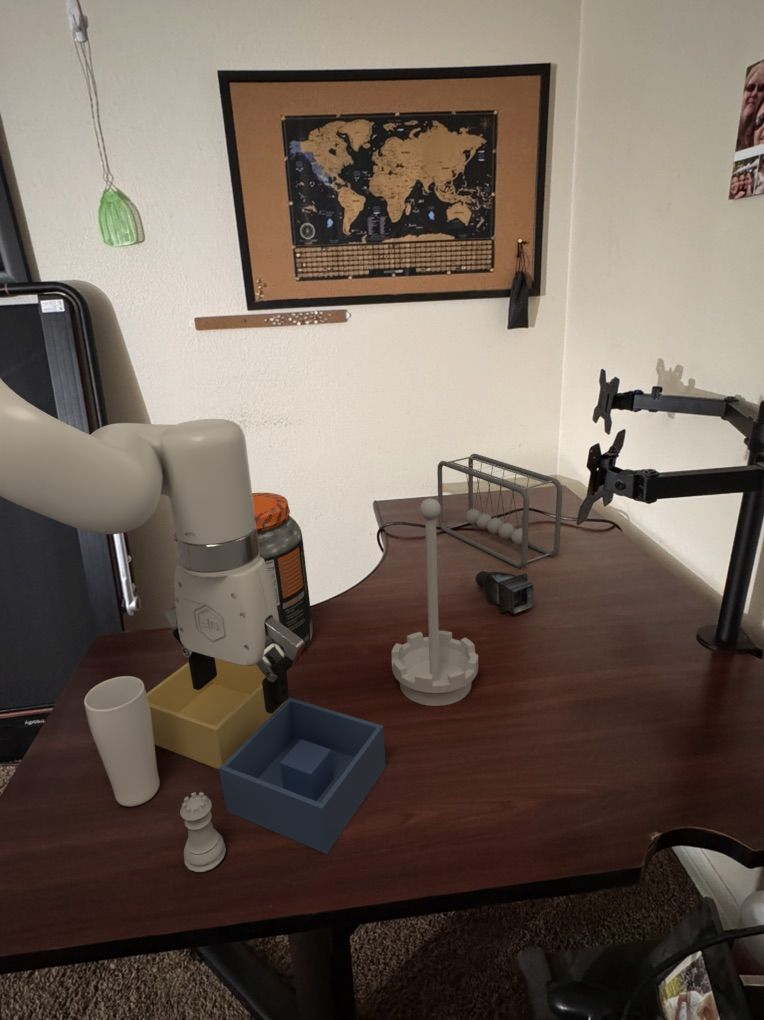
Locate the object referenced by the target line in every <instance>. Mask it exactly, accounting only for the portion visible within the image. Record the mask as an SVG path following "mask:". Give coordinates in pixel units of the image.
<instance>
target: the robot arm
mask: <svg viewBox="0 0 764 1020" xmlns="http://www.w3.org/2000/svg"><path fill="white" fill-rule="evenodd" d="M247 447H248V446H247V442H246V436H245V433H244V430H243V428H242V427H241V426H240V425H239V424H238V423H237V422H235V421H233V420H229V419H224V418H203V419H193V420H188V421H183V422H180V423H177V424H162V423H161V424H160V423H159V424H156V423H155V424H154V423H140V422H139V423H138V422H137V423H136V422H118V423H112V424H106V425H104V426H100V427H99V428H98V429H97V428H96V429H95V430H94V431H93V432H92V433H91V434H89V433H87V432H84V431H82V430H81V429H78V428H77V427H74V426H72V425H70V424H68V423H66V422H64V421H62V420H60V419H58V418H56V417H54V416H52V415H50V414H48V413H46V412H45V411H43V410H41V409H39V408H38V407H36V406H35V405H33V404H32V403H30V402H29V401H27V400H26V399H24V398H23V397H21V396H20V395H19V394H17V393H16V392H15V391H14V390H13V389H12V388H10V387H9V386H8V384H6V382H4V381H3V380H2V378H1V377H0V497H1V498H3V499H5V500H7V501H9V502H12V503H13V504H15V505H17V506H20V507H23V508H25V509H28V510H30V511H32V512H35V513H37V514H40V515H42V516H43V517H47V518H50V519H52V520H54V521H57V522H59V523H62V524H65V525H67V526H69V527H72V528H75V529H78V530H82V531H86V532H89V533H93V534H99V535H120V534H125V533H128V532H131V531H134V530H135V529H137V528H139V527H141V526H142V525H144V524H145V523H146V522H147V521H148V520H149V519H150V518H151V517H152V516H153V515H154V513H155V512H156V509H157V507H158V504H159V502H160V499H161V496H162V495H164V496H166V497H167V498H169V501H170V506H171V512H172V518H173V524H174V530H175V532H174V534H173V536H174V537H173V538H174V541H175V542H176V543H177V549H178V554H179V558H178V559H176V562H175V568H174V581H173V582H174V605H175V606H173V607H172V608H170V609H168V610H167V611H165V612H164V617H165V619H166V621H167V623H168V625H169V626H170V628H171V630H172V635H173V637H174V638H175V640H176V641H177V642H178V643H179V644H180V646H182V648H181V653H182V655H183V656H184V657H186V658H188V660H187V662H189V667H190V673H191V678H192V684H193V688H194V689H196V690H200V689H202V688H203V687H204V686H205V685H207V684H208V683H209V682H210V681H211V680H213V679H214V678H215V677H216V676H217V670H216V664H215V658H217V659H221V660H224V661H228V662H231V663H235V664H238V665H243V666H253V665H255V664H256V665H257V666H258V667H259V669H260V670H261V671H262V673H263V674H264V675H265V677H266V678H265V679H263V681H262V687H263V695H264V702H265V710H266V712H267V713H270V714H273V713H274V712H275V711H276V710H277V709H278V708H279V707H280V706H281V705H282V704H283V703H284V702H285V701H287V700H288V699H289V693H290V692H289V684H288V674H287V672H288V671H289V670H290V669H291V668H292V667H293V666H294V665H295V664H296V663H297V662H298V661H300V656H301V655H302V652H303V651H304V650H303V648H304V646H305V643H304V641H303V640H302V639H301V638H300V637H298V636H297V635H296V634H294V633H293V632H292V631H290V630H289V629H287V628H286V627H285V626H283V625H282V624H281V623H279V617H278V610H277V605H276V600H275V595H274V591H273V587H272V583H271V579H270V576H269V573H268V569H267V567H266V564H265V561H264V559H263V558H261V557H260V554H259V546H258V538H257V530H256V521H255V513H254V505H253V497H252V493H253V490H252V482H251V474H250V465H249V455H248V449H247ZM279 645H281V646H282V647H283V648H284V651H285V652H283V651H282V649H281V648H280V647H279ZM265 646H266V647H265ZM267 653H270V654H271V656H272V657H273V658H274V660H275V661H276V663H274V665H272V664H271V663H270V662H269V661H268V659H267V658H266V657H265V655H266V654H267Z"/></svg>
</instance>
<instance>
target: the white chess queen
mask: <svg viewBox="0 0 764 1020" xmlns="http://www.w3.org/2000/svg"><path fill="white" fill-rule="evenodd" d="M190 796H191V797H189V796H185V797H184V799H183V802H182V803H181V805H182V806H181V808H180V809H179V814H180V817H181V818H182V819H183V820H184V826H185V827H186V829H187V840H186V842H185V845H184V848H183V859H184V865H185V867H186V868H187V869H188V870H190V871H193V872H195V873H206V872H210V871H212V870H213V869H215V868H216V867H217V866H218V865H219V864H220V863H221V861H222V860H223V859H224V858H225V855H226V851H227V849H226V844H225V842H224V841H225V840H224V837H223V836H222V835H221V833H220V832H219V831H217V830H216V829H215V828H214V826H213V824H212V821H211V820H212V817H213V816H212V812H211V809H212V806H213V805H212V800H210V798H209V797H208V796H207V795H205V793H204V792H202V791H199V793H198V794H197V792H195V791H194V792H192V793H190Z"/></svg>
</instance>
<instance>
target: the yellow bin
mask: <svg viewBox="0 0 764 1020" xmlns="http://www.w3.org/2000/svg"><path fill="white" fill-rule="evenodd" d="M215 664H216V670H217V676H216V677H215V678H214V679H213V680H211V681H210V682H209V683H208V684H207V685H205V686H204V687H203V688H202V689H200V690H196V689H194V688H193V684H192V678H191V673H190V667H189V661H187V662H186V663H185V664H184V665H182V666H181V667H180V668H179V669H177V670H176V671H175V672H173V673H171V674H170V675H169V676H168V677H166V678H165V679H164V680H162V681H161V682H160V683H158V684H157V685H155V686H154V687H153V688H152V689H150V690H149V691H148V692H146V693H147V697H148V701H149V706H150V711H151V718H152V727H153V736H154V745H155V746H157V747H160V748H163V749H165V750H167V751H170V752H173V753H175V754H177V755H181V756H183V757H185V758H188V759H191V760H194V761H196V762H199V763H201V764H204V765H207V766H208V767H211V768H213V769H217V770H219V768H220V767H221V766H222V765H223V764H224V763H225V762H226V761H227V760H228V759H229V758H230V757H231V756H232V755H233V754H234V753H235V752H236V751H237V750H238V749H239V748H240V747H241V746H242V745H243V744H244V743H245V742H246V741H247V740H248V739H249V738H250V737H251V736H252V735H253V734H254V733H255V732H256V731H257V730H258V729H259V728H260V727H261V726H262V725H263V724H264V723H265V722H266V721H267V720H268V719H269V718H270V717H271V716H272V715H273V714H274V713H275V712H276V711H277V710H278V709H279V708H280V707H281V706H282V705H283V704H284V703H285V702H286V701H287V700H286V701H285V702H284V703H283V704H282V705H281V706H280V707H279V708H278V709H277V710H276V711H275V712H274V713H273V714H270V713H267V712H266V710H265V702H264V695H263V687H262V681H263V679H265V678H266V677H265V675H264V674H263V673H262V671H261V670H260V669H259V667H258V666H257V665H256V664H255V665H253V666H243V665H238V664H235V663H231V662H228V661H224V660H221V659H217V658H215Z"/></svg>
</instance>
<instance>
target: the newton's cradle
mask: <svg viewBox="0 0 764 1020" xmlns="http://www.w3.org/2000/svg"><path fill="white" fill-rule="evenodd" d="M464 460H468V462H467V463H468V465H463V464H461V463H458V462H459V461H464ZM474 461H476V462H477V463H474ZM479 464H480V468H478V469H474V465H479ZM483 464H484V465H488V466H489V468H491V472H489V473H488V472H487V473H486V472H484V471H482V469H486V468H488V466H485V467H482V465H483ZM443 467H446V468H449V469H452V470H453V471H457V472H460V473H463V474H465V476H466V482H467V488H468V489H467V491H468V492H467V493H468V494H467V495H468V496H467V497H468V501H467V502H468V504H467V505H468V507H467V508H468V509H467V512H466V513H465V520H466V522H463V523H459V524H456V525H452V526H449V527H447V526H446V525H445V524H444V507H443V506H444V499H443V498H444V497H443V495H444V494H443ZM494 467H495V468H496V469H497V468H498V469H501V470H497V471H493V469H494ZM436 471H437V501H438V502H439V504H440V506H441V512H440V514H439V516H438V517H437V521H438V525H439V527H440V529H441V530H442V531H443V532H445V533H447V534H449V535H450V536H453V537H455V538H457V539H459V540H460V541H463V542H464V543H467V544H469V545H471V546H472V547H475V548H476V549H479V550H481V551H482V552H485V553H487V554H488V555H491V556H493V557H495V558H497V559H499V560H501V561H503V562H505V563H507V564H509V565H511V566H512V567H515V568H518V569H524V568H525V567H526V566H527V564H528V563H531V562H534V561H537V560H539V559H542V558H545V557H547V556H548V557H552V558H554V557H556V556H558V555H559V552H560V548H561V547H560V546H561V545H560V544H561V528H562V510H563V509H562V508H563V486H562V483H561V481H560V480H559V479H557V478H555V477H553V476H549V475H545V474H542V473H539V472H536V471H533V470H530V469H526V468H524V467H523V468H522V467H520V466H517V465H513V464H510V463H507V462H504V461H501V460H497V459H494V458H492V457H491V458H490V457H487V456H485V455H482V454H478V453H472V454H470V455H469V456H466V457H461V458H457V459H454V460H449V461H446V460H441V461H439V463H438V464H437V469H436ZM501 471H503V473H502V477H498V476H496V475H493V473H497V472H501ZM505 471H507V472H509V473H511V474H508V475H505ZM512 475H514V480H513V481H510V480H507V479H504V478H506V477H508V476H509V477H510V476H512ZM517 475H519V476H522V477H524V478H522V479H517V480H516V478H517ZM525 477H526V478H525ZM474 478H476V481H477V489H476V497H475V502H474ZM526 479H527V485H526V486H524V485H521V484H519V483H516V482H519V481H522V480H526ZM530 479H531V480H534V481H538V482H541V483H536V484H534V485H533V484H532V485H530V486H529V481H530ZM481 480H483V481H485V482H487V484H488V491H487V496H486V497H487V498H486V504H485V505H486V506H485V511H484V509H483V504H482V498H481V491H480V490H481V489H480V481H481ZM550 483H551V484H553V485H554V486H555V488H556V499H555V501H556V502H555V519H554V520H555V522H554V541H553V551H552V550H549V549H547V548H545V547H543V546H541V545H538V544H536V543H533V542H531V541H529V537H530V536H529V519H530V517H529V515H530V497H529V494H528V490H529V489H533V488H537V487H540V486H543V485H547V484H550ZM491 484H494V485H496V486H499V496H498V503H497V510H496V516H495V513H494V507H493V501H492V500H493V499H492V494H491V493H492V492H491ZM502 488H504V489H507V490H510V491H511V492H512V493H511V499H510V506H509V511H508V517H507V521H506V516H505V508H504V500H503V493H502ZM514 492H516V493H519V494H520V495H521V496H522V501H523V502H522V517H521V525H520V527H519V519H518V514H517V513H518V512H517V507H516V502H515V494H514ZM478 494H479V501H480V507H481V511H480V510H478V509H476V505H477V499H478ZM489 496H490V497H489ZM489 498H490V504H491V511H492V517H491V515H490V514H488V513H487V507H488V501H489ZM500 501H501V503H502V505H501V506H502V511H503V518H504V522H503V521H502V519H500V518H498V513H499V506H500ZM512 502H513V504H514V510H515V511H514V512H515V517H516V523H517V528H515V526H514V525H513V524H511V522H509V521H510V514H511V508H512ZM481 512H482V513H481ZM467 524H470V525H472V526H473V525H476V526H477V527H478V528H479V529H481V530H487V531H488V533H490V534H491V535H498V536H499V537H500V538H501V539H503V540H506V541H507V540H511V541H512V543H513V544H514V545H515V546H521V561H520V562H519V561H517V560H514V559H513V558H511V557H508V556H507V555H504V554H502V553H501V552H498V551H496V550H494V549H492V548H491V547H488V546H486V545H484V544H482V543H479V542H478V541H476V540H474V539H471V538H469V537H467V536H465V535H463V534H461V533H459V532H457V531H455V530H453V529H454V528H458V527H461V526H464V525H467ZM528 548H530V549H532V550H534V551H536V552H539V553H542V554H543V555H540V556H537V557H534V558H531V559H528Z"/></svg>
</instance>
